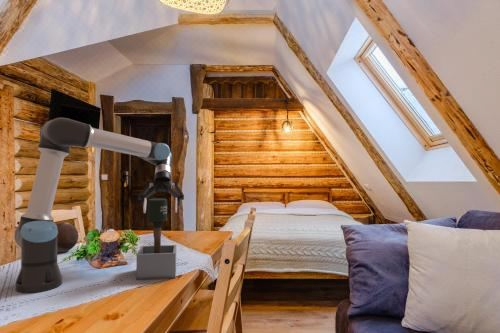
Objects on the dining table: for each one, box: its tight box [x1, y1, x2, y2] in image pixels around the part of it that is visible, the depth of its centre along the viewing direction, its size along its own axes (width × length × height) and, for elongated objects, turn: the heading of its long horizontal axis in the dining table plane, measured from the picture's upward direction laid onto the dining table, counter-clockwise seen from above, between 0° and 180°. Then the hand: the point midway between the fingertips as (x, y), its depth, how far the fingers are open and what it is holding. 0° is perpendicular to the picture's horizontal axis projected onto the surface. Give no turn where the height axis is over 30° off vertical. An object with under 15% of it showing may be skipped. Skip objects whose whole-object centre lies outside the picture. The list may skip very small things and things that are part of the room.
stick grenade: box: [146, 197, 169, 253], centre depth 150 cm, size 8×9×30 cm
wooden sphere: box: [55, 222, 79, 253], centre depth 185 cm, size 15×15×15 cm
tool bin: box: [135, 244, 177, 281], centre depth 150 cm, size 15×15×10 cm
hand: (160, 211), depth 158 cm, fingers open, 13 cm apart
